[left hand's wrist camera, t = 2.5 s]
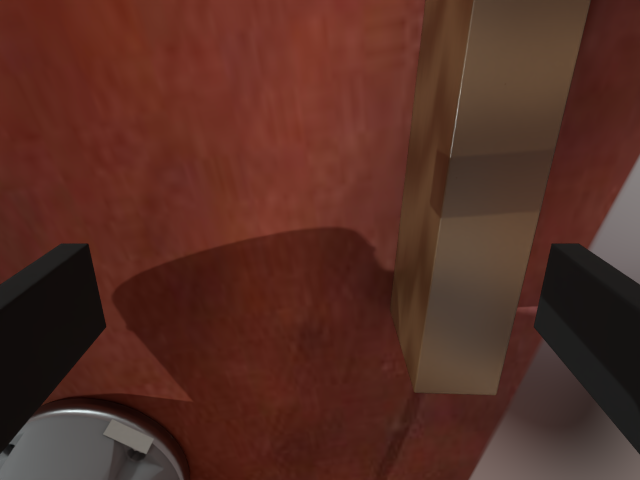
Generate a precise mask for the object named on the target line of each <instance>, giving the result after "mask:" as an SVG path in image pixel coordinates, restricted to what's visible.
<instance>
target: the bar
mask: <svg viewBox="0 0 640 480" xmlns="http://www.w3.org/2000/svg"><path fill="white" fill-rule="evenodd" d="M590 2H591V0H425V9H424V18H423V26H422V35H421V44H420V52H419V61H418V70H417V79H416V87H415V96H414V105H413V113H412V122H411V131H410V140H409V148H408V157H407V166H406V174H405V183H404V192H403V200H402V209H401V218H400V227H399V235H398V244H397V253H396V261H395V270H394V279H393V288H392V296H391V305H390V312H391V315H392V319H393V322H394V326H395V329H396V332H397V336H398V339H399V342H400V346H401V349H402V353H403V356H404V359H405V363H406V366H407V369H408V373H409V376H410V380H411V383H412V386H413V390H414V392H415V393H441V394H474V395H496V394H497V389H498V385H499V381H500V377H501V373H502V369H503V364H504V360H505V356H506V352H507V348H508V344H509V339H510V335H511V331H512V327H513V323H514V319H515V314H516V310H517V306H518V302H519V298H520V294H521V289H522V285H523V281H524V277H525V273H526V269H527V264H528V260H529V256H530V252H531V248H532V244H533V239H534V235H535V231H536V227H537V223H538V219H539V214H540V210H541V206H542V202H543V198H544V194H545V189H546V185H547V181H548V177H549V173H550V169H551V164H552V160H553V156H554V152H555V148H556V144H557V139H558V135H559V131H560V127H561V123H562V119H563V114H564V110H565V106H566V102H567V98H568V94H569V89H570V85H571V81H572V77H573V73H574V69H575V64H576V60H577V56H578V52H579V48H580V43H581V39H582V35H583V31H584V27H585V23H586V18H587V14H588V10H589V6H590Z"/></svg>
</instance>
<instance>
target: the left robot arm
mask: <svg viewBox="0 0 640 480" xmlns="http://www.w3.org/2000/svg"><path fill="white" fill-rule="evenodd" d="M105 328H106V323H105V319H104V314H103V309H102V305H101V300H100V296H99V291H98V286H97V282H96V277H95V272H94V268H93V263H92V258H91V254H90V249H89V245H88V244H60V245H59V246H57V247H56V248H54V249H53V250H51V251H50V252H48V253H47V254H45V255H44V256H42V257H41V258H39V259H38V260H36V261H35V262H33V263H32V264H30V265H29V266H27V267H26V268H24V269H23V270H21V271H20V272H18V273H17V274H15V275H14V276H12V277H11V278H9V279H8V280H6V281H5V282H3V283H2V284H0V480H189V479H190V477H189V467H188V463H187V460H186V457H185V455H184V453H183V451H182V449H181V447H180V446H179V444H178V443H177V442H176V440H175V439H174V438H173V437H172V436H171V434H170V433H169V432H168V431H166V430H165V429H164V428H163V427H162V426H161V425H159V424H158V423H157V422H155V421H154V420H152V419H151V418H149V417H148V416H146V415H144V414H142V413H140V412H138V411H136V410H134V409H132V408H129V407H126V406H124V405H121V404H117V403H114V402H109V401H105V400H98V399H87V398H74V399H64V400H59V401H54V402H51V403H47V404H45V405H42V403H43V402H44V401H45V400H46V399H47V397H48V396H49V395H50V394H51V393H52V391H53V390H54V389H55V388H56V387H57V385H58V384H59V383H60V382H61V381H62V379H63V378H64V377H65V376H66V375H67V373H68V372H69V371H70V370H71V369H72V367H73V366H74V365H75V364H76V363H77V361H78V360H79V359H80V358H81V357H82V355H83V354H84V353H85V352H86V351H87V349H88V348H89V347H90V346H91V345H92V343H93V342H94V341H95V340H96V339H97V337H98V336H99V335H100V334H101V333H102V331H103V330H104V329H105ZM534 328H535V329H536V330H537V331H538V333H539V334H540V335H541V336H542V337H543V339H544V340H545V341H546V342H547V343H548V345H549V346H550V347H551V348H552V349H553V351H554V352H555V353H556V354H557V355H558V357H559V358H560V359H561V360H562V361H563V362H564V364H565V365H566V366H567V367H568V369H569V370H570V371H571V372H572V373H573V375H574V376H575V377H576V378H577V379H578V381H579V382H580V383H581V384H582V385H583V387H584V388H585V389H586V390H587V391H588V393H589V394H590V395H591V396H592V397H593V399H594V400H595V401H596V402H597V403H598V405H599V406H600V407H601V408H602V409H603V411H604V412H605V413H606V414H607V415H608V417H609V418H610V419H611V420H612V421H613V423H614V424H615V425H616V426H617V427H618V429H619V430H620V431H621V432H622V433H623V435H624V436H625V437H626V438H627V439H628V441H629V442H630V443H631V444H632V446H633V447H634V448H635V449H636V450H637V452H638V453H639V454H640V285H639V284H638V283H637V282H635V281H634V280H632V279H631V278H629V277H628V276H626V275H625V274H623V273H622V272H620V271H619V270H617V269H616V268H614V267H613V266H611V265H610V264H608V263H607V262H605V261H604V260H602V259H601V258H599V257H598V256H596V255H595V254H593V253H592V252H590V251H589V250H587V249H586V248H584V247H583V246H581V245H580V244H552V245H551V249H550V254H549V258H548V263H547V268H546V272H545V277H544V282H543V286H542V291H541V296H540V300H539V305H538V309H537V314H536V319H535V323H534ZM41 405H42V406H41Z"/></svg>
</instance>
